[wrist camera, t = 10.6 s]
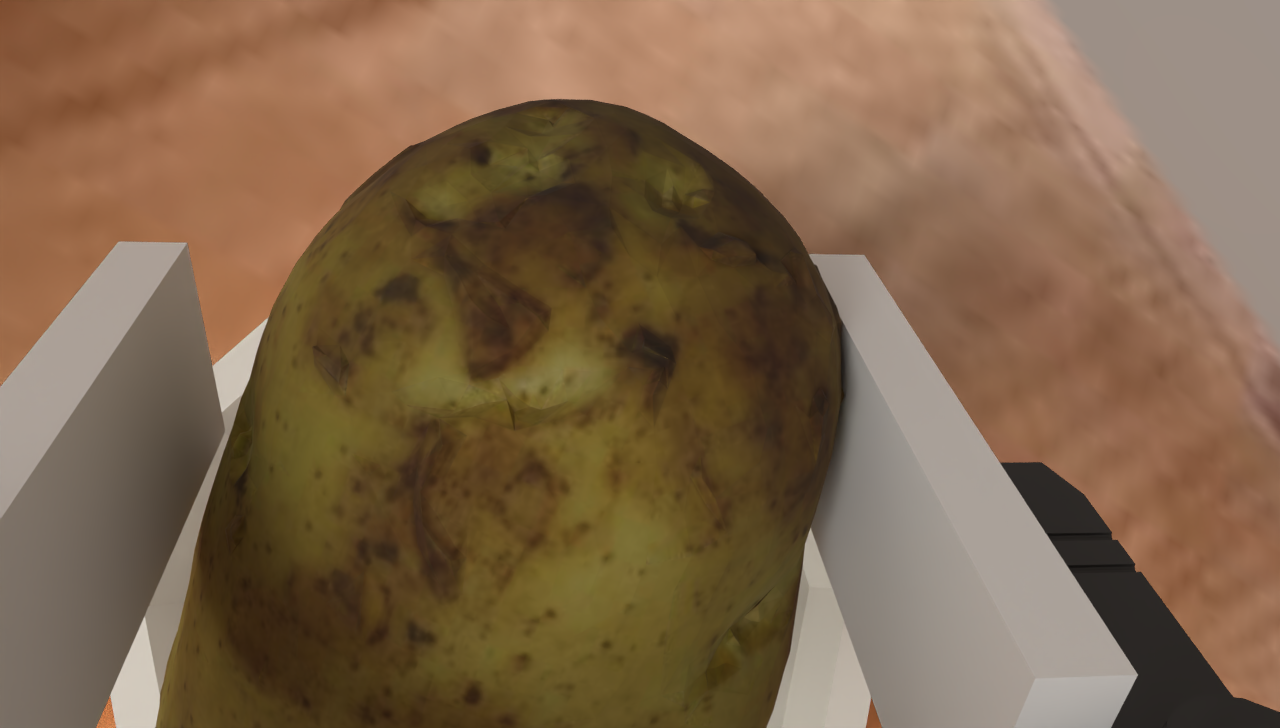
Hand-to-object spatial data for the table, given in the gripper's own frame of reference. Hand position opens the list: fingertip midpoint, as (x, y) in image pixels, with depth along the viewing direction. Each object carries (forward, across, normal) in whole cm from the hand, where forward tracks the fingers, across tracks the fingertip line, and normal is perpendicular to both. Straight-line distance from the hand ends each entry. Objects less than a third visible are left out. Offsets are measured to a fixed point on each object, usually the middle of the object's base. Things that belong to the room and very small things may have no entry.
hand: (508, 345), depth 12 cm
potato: (0, 0, -6) cm, 6 cm away
